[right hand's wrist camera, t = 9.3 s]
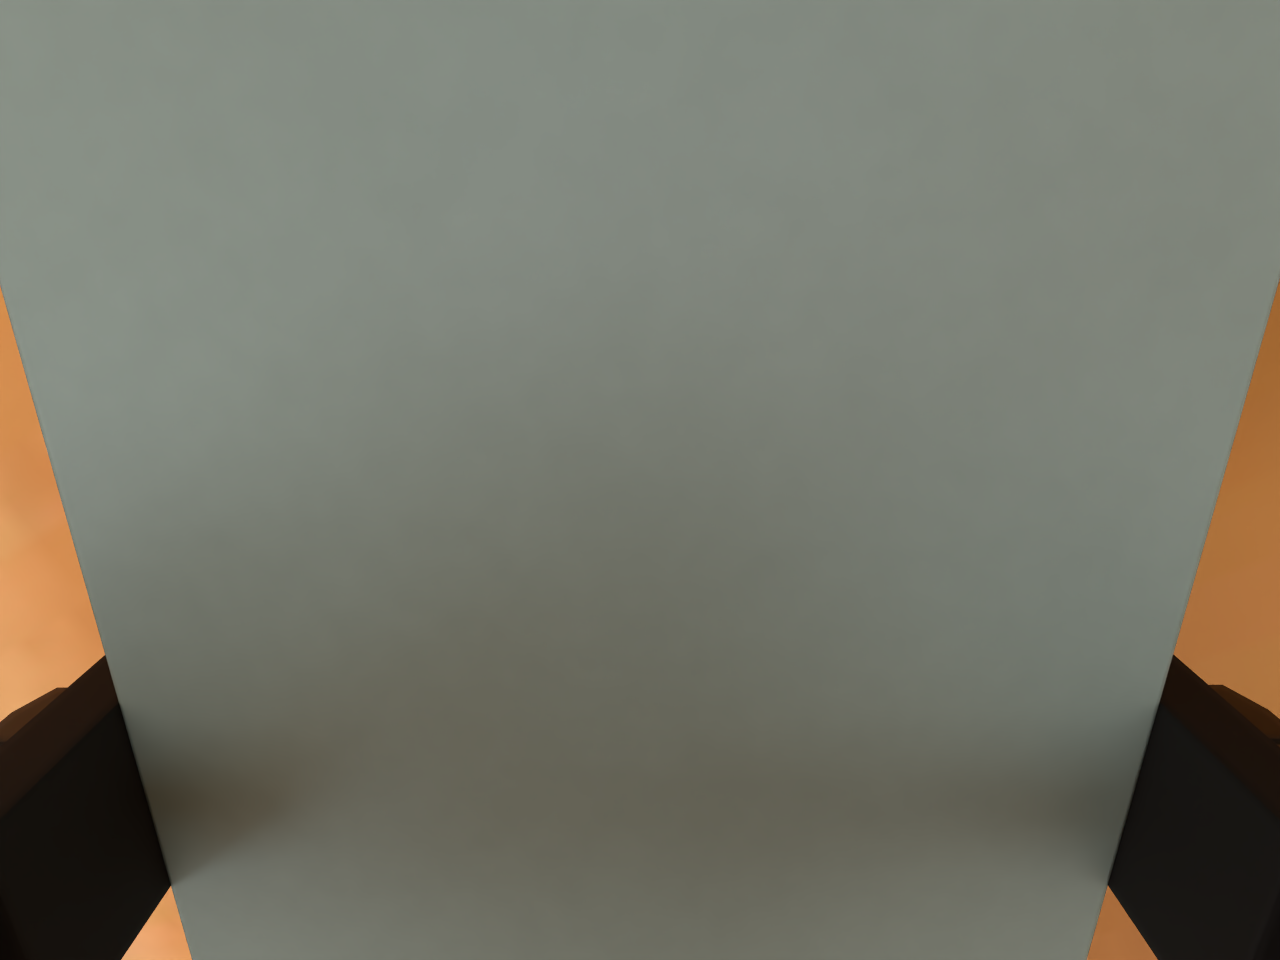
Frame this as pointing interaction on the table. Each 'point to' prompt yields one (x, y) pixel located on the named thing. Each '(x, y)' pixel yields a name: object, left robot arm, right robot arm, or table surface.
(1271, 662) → the table surface
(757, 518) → the grey box
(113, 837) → the right robot arm
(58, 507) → the table surface
